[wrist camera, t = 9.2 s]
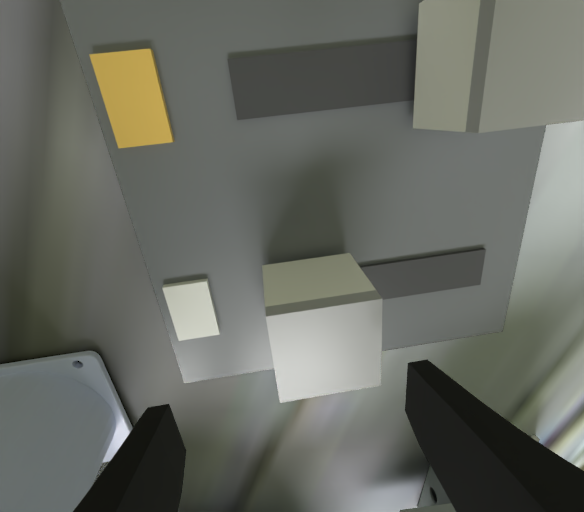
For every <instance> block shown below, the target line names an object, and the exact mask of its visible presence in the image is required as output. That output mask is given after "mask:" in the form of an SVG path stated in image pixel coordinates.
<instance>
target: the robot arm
mask: <svg viewBox="0 0 584 512" xmlns="http://www.w3.org/2000/svg"><path fill="white" fill-rule="evenodd" d="M77 361H80V362H82V363H79V362H77ZM405 411H406V414H407V416H408V419H409V421H410V424H411V426H412V429H413V431H414V433H415V436H416V438H417V440H418V443H419V445H420V447H421V449H422V451H423V452H424V454H425V456H426V458H427V460H428V462H429V463H430V465H431V467H432V469H433V471H434V473H435V474H436V476H437V478H438V480H439V482H440V483H441V485H442V487H443V489H444V491H445V493H446V494H447V496H448V498H449V500H450V502H451V503H452V505H453V507H454V509H455V511H456V512H584V471H583V470H581V469H579V468H578V467H576V466H575V465H573V464H571V463H570V462H568V461H566V460H565V459H563V458H562V457H560V456H558V455H557V454H555V453H554V452H552V451H551V450H549V449H548V448H546V447H545V446H543V445H542V444H540V443H539V442H537V441H536V440H534V439H533V438H531V437H530V436H528V435H527V434H525V433H524V432H523V431H521V430H520V429H518V428H517V427H515V426H514V425H512V424H511V423H510V422H508V421H507V420H505V419H504V418H503V417H501V416H500V415H499V414H497V413H496V412H495V411H493V410H492V409H491V408H489V407H488V406H486V405H485V404H484V403H482V402H481V401H480V400H478V399H477V398H476V397H475V396H473V395H472V394H471V393H469V392H468V391H467V390H465V389H464V388H463V387H462V386H460V385H459V384H458V383H456V382H455V381H454V380H453V379H451V378H450V377H449V376H448V375H446V374H445V373H444V372H442V371H441V370H440V369H439V368H437V367H436V366H435V365H433V364H432V363H431V362H430V361H428V360H422V361H416V362H410V363H408V372H407V388H406V404H405ZM185 456H186V449H185V446H184V444H183V441H182V438H181V435H180V433H179V430H178V427H177V424H176V422H175V419H174V416H173V413H172V411H171V408H170V405H169V404H166V405H161V406H155V407H149V408H147V409H146V411H145V412H144V413H143V415H142V416H141V418H140V419H139V420H138V422H137V423H136V425H135V426H134V428H133V427H132V425H131V423H130V421H129V419H128V416H127V414H126V412H125V410H124V407H123V405H122V403H121V401H120V399H119V396H118V394H117V392H116V390H115V388H114V385H113V383H112V381H111V379H110V376H109V374H108V372H107V370H106V368H105V365H104V363H103V361H102V359H101V357H100V355H99V354H98V353H96V352H94V351H83V352H77V353H70V354H64V355H57V356H51V357H44V358H38V359H31V360H25V361H19V362H12V363H6V364H0V512H178V507H179V503H180V498H181V493H182V485H183V476H184V467H185ZM108 461H110V462H109V463H108V465H107V466H106V468H105V469H104V470H103V472H102V473H101V474H100V476H99V477H98V479H97V480H96V481H95V478H96V476H97V474H98V471H99V469H100V467H101V465H102V462H108ZM94 481H95V483H94ZM93 483H94V484H93Z"/></svg>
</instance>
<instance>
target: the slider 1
mask: <svg viewBox="0 0 584 512" xmlns="http://www.w3.org/2000/svg"><path fill="white" fill-rule="evenodd" d="M262 271H263V285H264V300H265V314H266V322H267V328H268V334H269V340H270V346H271V352H272V358H273V364H274V370H275V376H276V382H277V388H278V395H279V401H280V403H282V402H288V401H294V400H300V399H306V398H311V397H317V396H323V395H329V394H335V393H341V392H347V391H352V390H358V389H364V388H370V387H376V386H381V355H382V297H381V296H380V295H379V293H378V292H377V290H376V289H375V288H374V286H373V285H372V283H371V282H370V281H369V279H368V278H367V277H366V275H365V274H364V272H363V271H362V270H361V268H360V267H359V265H358V264H357V263H356V261H355V260H354V258H353V257H352V256H351V254H350V253H345V254H338V255H331V256H324V257H317V258H310V259H303V260H296V261H289V262H282V263H275V264H268V265H262Z"/></svg>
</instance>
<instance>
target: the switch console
mask: <svg viewBox="0 0 584 512" xmlns="http://www.w3.org/2000/svg"><path fill="white" fill-rule="evenodd" d="M422 1H424V0H60V3H61V6H62V9H63V12H64V15H65V18H66V22H67V25H68V28H69V31H70V34H71V37H72V40H73V43H74V46H75V49H76V52H77V55H78V58H79V61H80V65H81V68H82V71H83V74H84V77H85V80H86V83H87V86H88V89H89V92H90V95H91V98H92V101H93V104H94V107H95V111H96V114H97V117H98V120H99V123H100V126H101V129H102V132H103V135H104V138H105V141H106V144H107V147H108V150H109V154H110V157H111V160H112V163H113V166H114V169H115V172H116V175H117V178H118V181H119V184H120V187H121V190H122V193H123V197H124V200H125V203H126V206H127V209H128V212H129V215H130V218H131V221H132V224H133V227H134V230H135V233H136V236H137V239H138V243H139V246H140V249H141V252H142V255H143V258H144V261H145V264H146V267H147V270H148V273H149V276H150V279H151V282H152V286H153V289H154V292H155V295H156V298H157V301H158V304H159V307H160V310H161V313H162V316H163V319H164V322H165V325H166V329H167V332H168V335H169V338H170V341H171V344H172V347H173V350H174V353H175V356H176V359H177V362H178V365H179V368H180V371H181V375H182V378H183V381H184V383H190V382H196V381H203V380H209V379H215V378H221V377H227V376H233V375H239V374H245V373H251V372H257V371H264V370H270V369H274V364H273V358H272V352H271V346H270V340H269V334H268V328H267V322H266V314H265V300H264V285H263V271H262V265H268V264H275V263H282V262H289V261H296V260H303V259H310V258H317V257H324V256H331V255H338V254H345V253H350V254H351V256H352V257H353V258H354V260H355V261H356V263H357V264H358V265H359V267H360V268H361V270H362V271H363V272H364V274H365V275H366V277H367V278H368V279H369V281H370V282H371V283H372V285H373V286H374V288H375V289H376V290H377V292H378V293H379V295H380V296H381V297H382V351H385V350H391V349H398V348H404V347H410V346H416V345H422V344H428V343H434V342H440V341H446V340H452V339H458V338H465V337H471V336H477V335H483V334H489V333H495V332H501V331H503V327H504V322H505V318H506V313H507V308H508V304H509V299H510V294H511V289H512V285H513V280H514V275H515V270H516V266H517V261H518V256H519V251H520V247H521V242H522V237H523V232H524V228H525V223H526V218H527V213H528V209H529V204H530V199H531V195H532V190H533V185H534V180H535V176H536V171H537V166H538V161H539V157H540V152H541V147H542V142H543V138H544V133H545V128H546V125H541V126H533V127H525V128H516V129H508V130H500V131H492V132H484V133H470V132H456V131H443V130H429V129H415V128H413V113H414V93H415V73H416V54H417V34H418V14H419V3H421V2H422Z"/></svg>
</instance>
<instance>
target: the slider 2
mask: <svg viewBox="0 0 584 512" xmlns="http://www.w3.org/2000/svg"><path fill="white" fill-rule="evenodd" d="M582 120H584V0H424V1H422V2H421V3H419V14H418V34H417V54H416V73H415V93H414V113H413V128H415V129H429V130H443V131H456V132H470V133H484V132H492V131H500V130H508V129H516V128H525V127H533V126H541V125H549V124H558V123H566V122H574V121H582Z"/></svg>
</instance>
